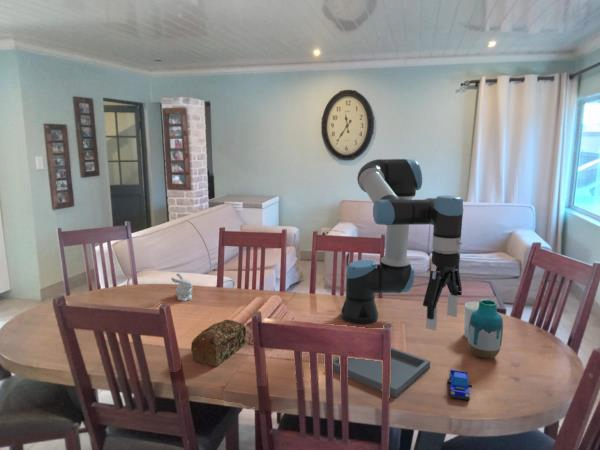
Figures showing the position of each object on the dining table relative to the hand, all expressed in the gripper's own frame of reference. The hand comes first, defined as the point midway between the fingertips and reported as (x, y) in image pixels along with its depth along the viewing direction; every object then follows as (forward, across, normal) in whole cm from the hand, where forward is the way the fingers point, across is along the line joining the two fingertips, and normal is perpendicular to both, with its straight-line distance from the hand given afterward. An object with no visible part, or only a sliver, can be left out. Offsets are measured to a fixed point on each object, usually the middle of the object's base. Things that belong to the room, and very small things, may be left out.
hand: (441, 322), depth 129 cm
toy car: (+21, +3, -5) cm, 22 cm away
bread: (+20, -31, +64) cm, 74 cm away
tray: (+20, -3, +18) cm, 27 cm away
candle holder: (+20, +41, +5) cm, 46 cm away
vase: (+20, +28, -3) cm, 35 cm away
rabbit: (+18, -10, +118) cm, 120 cm away
